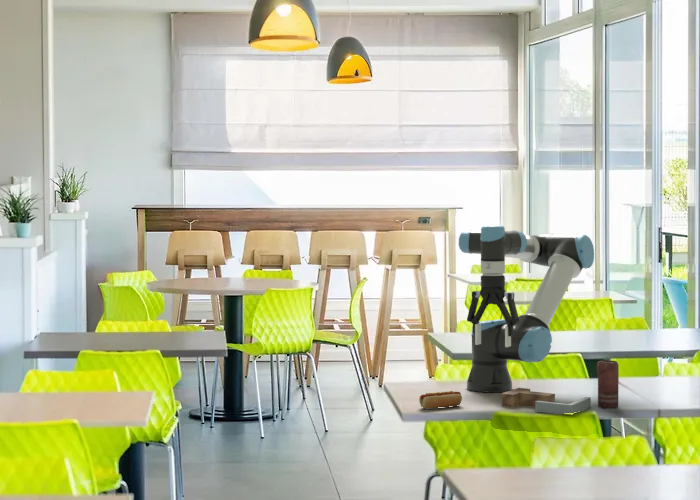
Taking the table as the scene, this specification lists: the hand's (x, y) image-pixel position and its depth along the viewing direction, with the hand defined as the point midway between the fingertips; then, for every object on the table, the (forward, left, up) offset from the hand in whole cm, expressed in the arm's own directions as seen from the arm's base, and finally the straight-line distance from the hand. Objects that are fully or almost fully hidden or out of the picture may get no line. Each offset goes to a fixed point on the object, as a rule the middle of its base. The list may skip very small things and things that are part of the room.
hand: (492, 345), depth 336 cm
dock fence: (+24, -1, -18) cm, 30 cm away
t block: (+13, 0, -18) cm, 22 cm away
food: (-9, -17, -18) cm, 27 cm away
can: (+34, +10, -18) cm, 40 cm away
